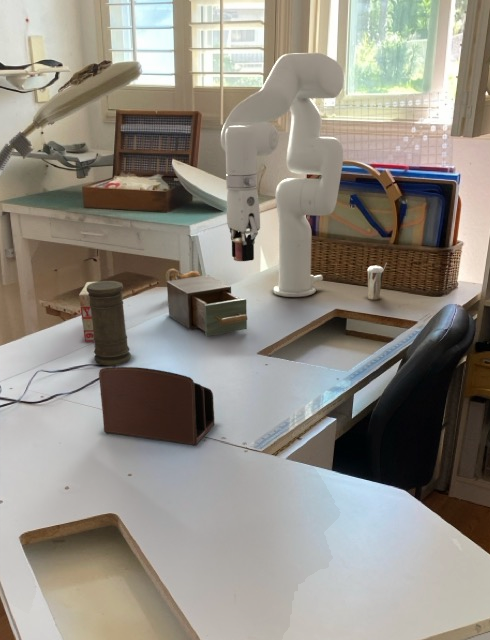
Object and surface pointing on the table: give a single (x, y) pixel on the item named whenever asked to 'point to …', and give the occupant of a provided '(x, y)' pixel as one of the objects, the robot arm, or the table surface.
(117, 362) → the container
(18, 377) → the table surface
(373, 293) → the milkshake
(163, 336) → the table surface
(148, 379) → the letter holder
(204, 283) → the cabinet
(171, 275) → the lion figurine
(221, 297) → the drawer
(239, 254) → the spool
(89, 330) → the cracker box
